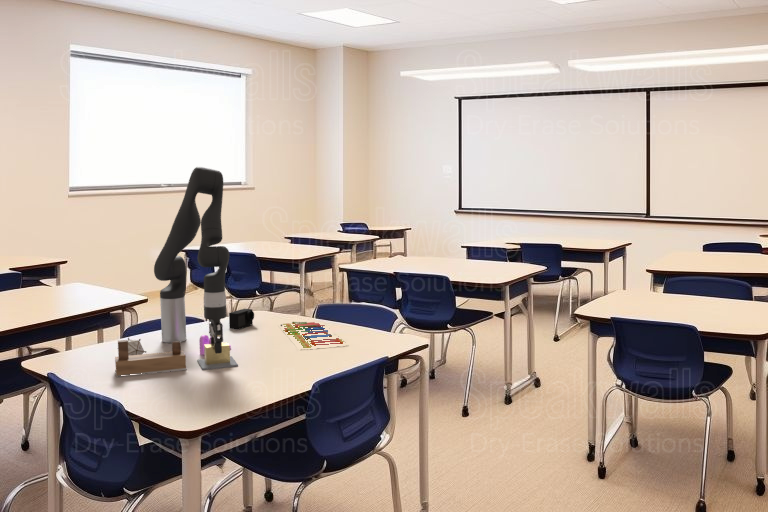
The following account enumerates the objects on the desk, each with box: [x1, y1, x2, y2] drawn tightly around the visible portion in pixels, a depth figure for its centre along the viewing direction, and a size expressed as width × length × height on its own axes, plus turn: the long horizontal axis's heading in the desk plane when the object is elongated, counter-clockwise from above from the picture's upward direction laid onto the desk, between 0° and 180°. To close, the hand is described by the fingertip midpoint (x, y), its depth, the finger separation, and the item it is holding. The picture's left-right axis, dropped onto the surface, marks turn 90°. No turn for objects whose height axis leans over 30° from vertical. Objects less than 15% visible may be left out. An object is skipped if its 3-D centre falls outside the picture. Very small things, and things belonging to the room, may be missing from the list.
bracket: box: [198, 334, 232, 356], centre depth 273 cm, size 13×6×7 cm, turn 156°
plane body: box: [114, 339, 188, 377], centre depth 247 cm, size 7×22×11 cm, turn 112°
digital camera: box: [228, 308, 255, 331], centre depth 313 cm, size 10×5×7 cm, turn 153°
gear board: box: [282, 321, 345, 348], centre depth 298 cm, size 45×2×19 cm
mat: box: [196, 355, 239, 371], centre depth 256 cm, size 12×12×1 cm
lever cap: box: [203, 342, 231, 365], centre depth 256 cm, size 4×8×7 cm, turn 112°
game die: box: [117, 337, 147, 356], centre depth 259 cm, size 9×8×10 cm
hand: (216, 350), depth 255 cm, fingers open, 8 cm apart
